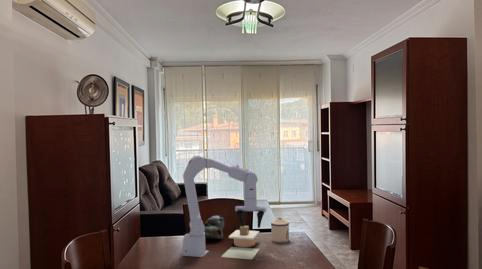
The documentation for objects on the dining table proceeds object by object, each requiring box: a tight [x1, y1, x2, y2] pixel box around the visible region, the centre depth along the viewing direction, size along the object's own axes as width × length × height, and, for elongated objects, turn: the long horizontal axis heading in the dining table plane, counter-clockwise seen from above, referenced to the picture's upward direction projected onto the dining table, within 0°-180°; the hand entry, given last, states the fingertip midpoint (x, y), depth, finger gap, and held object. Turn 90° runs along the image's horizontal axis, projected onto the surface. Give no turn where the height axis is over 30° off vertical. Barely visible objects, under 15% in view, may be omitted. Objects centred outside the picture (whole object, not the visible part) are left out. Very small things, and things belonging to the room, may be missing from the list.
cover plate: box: [228, 225, 260, 240], centre depth 175 cm, size 12×12×4 cm
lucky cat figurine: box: [203, 214, 225, 241], centre depth 187 cm, size 15×12×14 cm
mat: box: [220, 246, 261, 260], centre depth 162 cm, size 14×14×1 cm
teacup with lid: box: [270, 216, 290, 243], centre depth 182 cm, size 12×9×12 cm
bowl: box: [233, 237, 257, 248], centre depth 175 cm, size 10×10×4 cm
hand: (251, 226), depth 168 cm, fingers open, 7 cm apart
